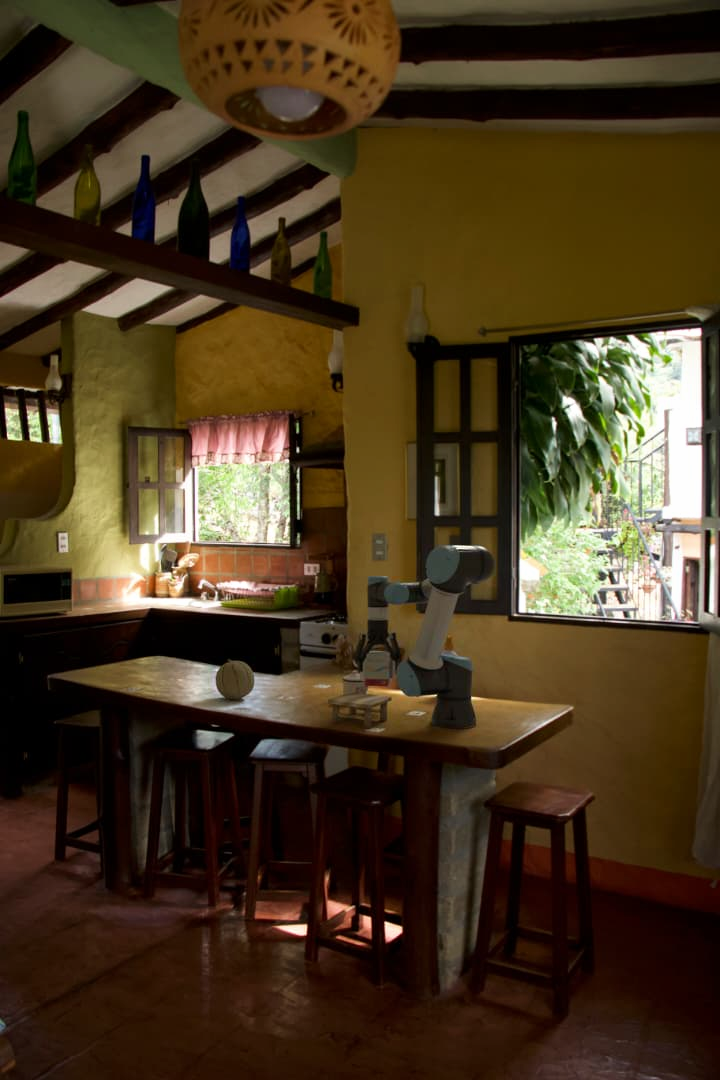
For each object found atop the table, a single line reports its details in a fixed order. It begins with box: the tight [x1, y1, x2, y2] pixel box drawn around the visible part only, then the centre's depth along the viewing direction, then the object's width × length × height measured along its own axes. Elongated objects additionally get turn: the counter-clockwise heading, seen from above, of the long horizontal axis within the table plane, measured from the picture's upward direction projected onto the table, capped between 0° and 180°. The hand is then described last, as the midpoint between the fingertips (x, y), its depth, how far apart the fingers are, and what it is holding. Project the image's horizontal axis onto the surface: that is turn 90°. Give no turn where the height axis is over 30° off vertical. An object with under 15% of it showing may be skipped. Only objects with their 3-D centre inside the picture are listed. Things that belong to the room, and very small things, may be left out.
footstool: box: [327, 692, 393, 729], centre depth 300 cm, size 16×16×8 cm
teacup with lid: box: [342, 670, 369, 695], centre depth 334 cm, size 12×9×12 cm
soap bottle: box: [441, 635, 459, 656], centre depth 346 cm, size 9×9×24 cm
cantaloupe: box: [215, 658, 255, 701], centre depth 334 cm, size 15×15×15 cm
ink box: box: [365, 650, 391, 687], centre depth 318 cm, size 9×9×12 cm
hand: (377, 679), depth 318 cm, fingers closed on ink box, 11 cm apart
